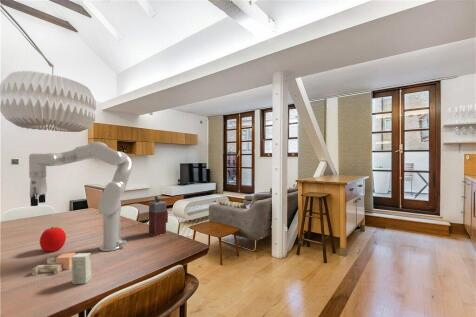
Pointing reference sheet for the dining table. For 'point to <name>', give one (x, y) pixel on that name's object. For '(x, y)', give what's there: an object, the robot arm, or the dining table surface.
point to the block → (65, 260)
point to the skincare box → (81, 268)
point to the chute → (48, 267)
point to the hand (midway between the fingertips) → (38, 204)
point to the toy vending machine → (157, 217)
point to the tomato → (52, 239)
